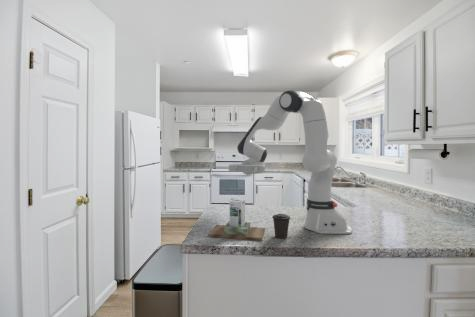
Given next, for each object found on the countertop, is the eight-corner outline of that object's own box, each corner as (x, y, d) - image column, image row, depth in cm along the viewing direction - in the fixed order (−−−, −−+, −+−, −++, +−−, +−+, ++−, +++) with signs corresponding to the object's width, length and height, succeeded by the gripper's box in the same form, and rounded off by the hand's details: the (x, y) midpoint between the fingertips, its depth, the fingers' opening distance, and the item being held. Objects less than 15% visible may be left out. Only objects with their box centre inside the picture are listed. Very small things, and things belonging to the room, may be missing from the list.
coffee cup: (276, 240, 116) (276, 218, 116) (269, 234, 124) (269, 213, 123) (293, 238, 119) (293, 216, 118) (285, 232, 126) (285, 212, 126)
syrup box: (228, 231, 124) (229, 200, 123) (234, 228, 129) (234, 198, 128) (240, 233, 121) (240, 201, 120) (245, 229, 127) (245, 199, 126)
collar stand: (264, 230, 130) (264, 221, 130) (261, 240, 116) (261, 231, 116) (216, 227, 134) (216, 218, 134) (208, 236, 121) (208, 227, 120)
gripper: (231, 161, 157) (225, 163, 144) (266, 162, 154) (263, 164, 140) (231, 171, 158) (225, 174, 144) (266, 173, 154) (263, 176, 140)
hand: (244, 169), depth 142 cm, fingers open, 8 cm apart
